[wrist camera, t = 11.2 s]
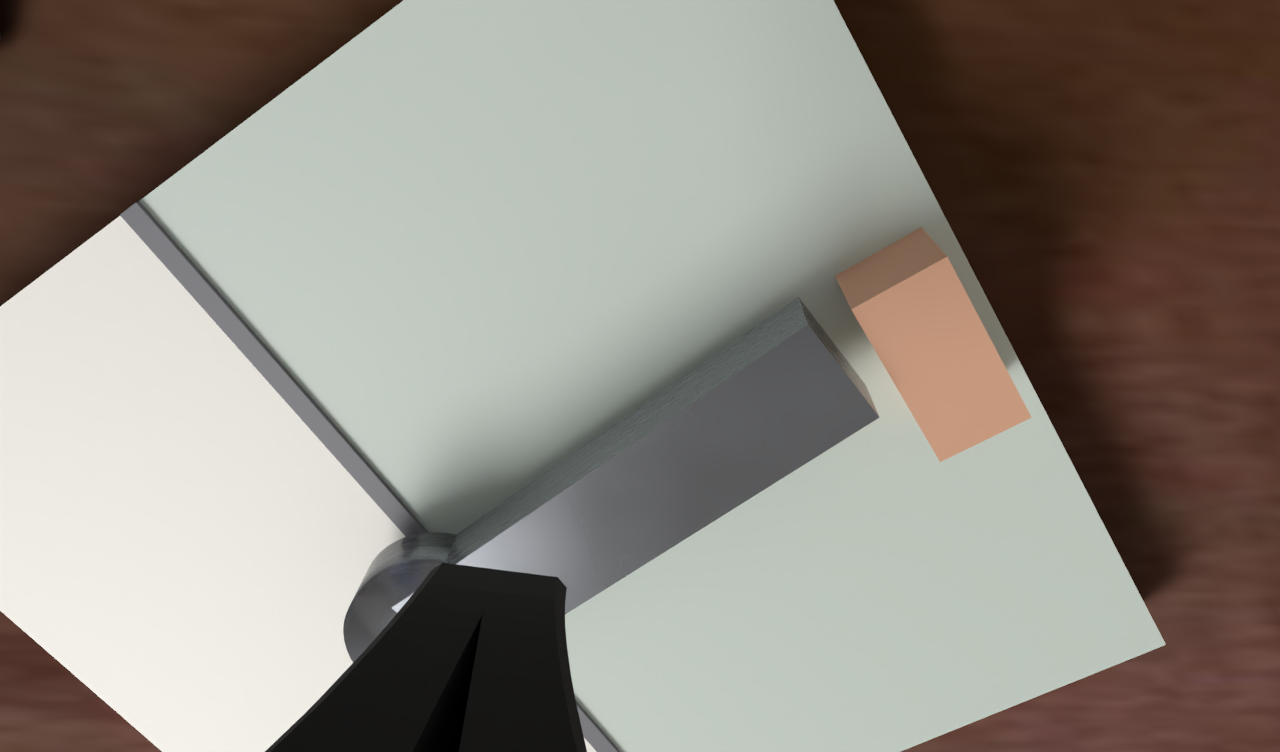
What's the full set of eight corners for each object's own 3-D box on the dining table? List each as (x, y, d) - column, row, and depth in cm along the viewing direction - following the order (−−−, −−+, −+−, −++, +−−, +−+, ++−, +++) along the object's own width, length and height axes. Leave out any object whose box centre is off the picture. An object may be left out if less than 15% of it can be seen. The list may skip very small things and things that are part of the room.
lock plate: (-137, 419, 19) (-263, 492, 16) (709, -220, 13) (716, -260, 11) (407, 911, 25) (376, 1019, 22) (1138, 606, 20) (1206, 703, 17)
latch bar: (443, 686, 19) (428, 731, 18) (330, 586, 18) (307, 628, 17) (884, 409, 16) (899, 444, 14) (777, 269, 15) (784, 294, 13)
